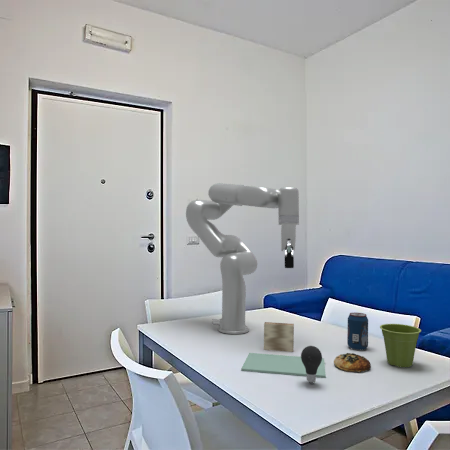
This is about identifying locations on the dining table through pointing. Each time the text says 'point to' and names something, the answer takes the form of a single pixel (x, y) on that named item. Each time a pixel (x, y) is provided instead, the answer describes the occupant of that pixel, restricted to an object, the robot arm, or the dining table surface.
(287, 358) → the rubber mat
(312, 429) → the dining table surface
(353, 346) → the soda can
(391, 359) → the plant pot
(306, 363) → the light bulb
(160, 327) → the dining table surface
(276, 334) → the tan wooden block
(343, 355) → the bread roll
